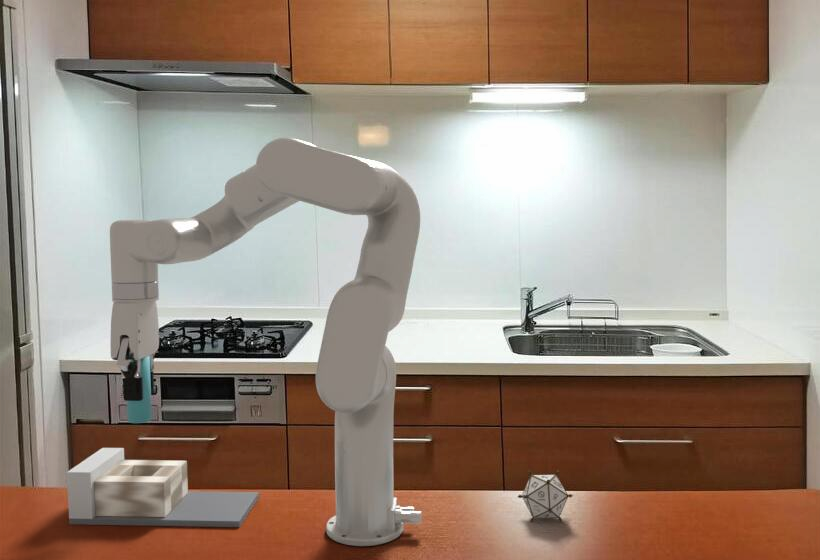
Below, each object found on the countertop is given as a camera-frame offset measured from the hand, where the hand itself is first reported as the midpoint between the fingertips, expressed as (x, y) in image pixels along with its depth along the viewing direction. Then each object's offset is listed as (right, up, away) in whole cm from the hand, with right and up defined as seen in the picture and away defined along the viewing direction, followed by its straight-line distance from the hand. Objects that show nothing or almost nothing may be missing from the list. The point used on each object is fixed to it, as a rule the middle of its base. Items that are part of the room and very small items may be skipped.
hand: (139, 395), depth 130 cm
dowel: (0, -4, 0) cm, 4 cm away
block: (0, -19, +2) cm, 19 cm away
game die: (+70, -21, -3) cm, 73 cm away
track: (+5, -20, +2) cm, 21 cm away
